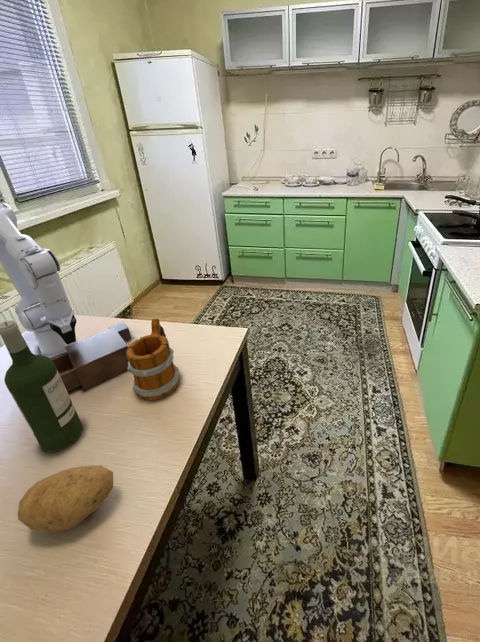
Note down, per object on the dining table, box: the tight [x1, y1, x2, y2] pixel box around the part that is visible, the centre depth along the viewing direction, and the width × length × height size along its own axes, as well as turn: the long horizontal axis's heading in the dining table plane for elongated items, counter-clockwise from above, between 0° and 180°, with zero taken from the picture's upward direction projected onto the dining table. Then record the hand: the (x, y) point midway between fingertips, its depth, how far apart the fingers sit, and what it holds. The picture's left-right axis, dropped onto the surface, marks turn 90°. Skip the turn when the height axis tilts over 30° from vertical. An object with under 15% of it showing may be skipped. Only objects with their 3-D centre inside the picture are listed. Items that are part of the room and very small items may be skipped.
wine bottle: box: [0, 320, 84, 453], centre depth 64 cm, size 8×8×30 cm
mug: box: [126, 318, 180, 401], centre depth 83 cm, size 11×16×15 cm, turn 5°
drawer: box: [50, 352, 82, 393], centre depth 82 cm, size 16×10×6 cm, turn 132°
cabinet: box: [65, 327, 129, 392], centre depth 88 cm, size 13×12×8 cm
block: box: [108, 321, 133, 343], centre depth 101 cm, size 4×4×4 cm
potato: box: [17, 464, 114, 533], centre depth 56 cm, size 10×14×8 cm
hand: (71, 341), depth 87 cm, fingers closed
